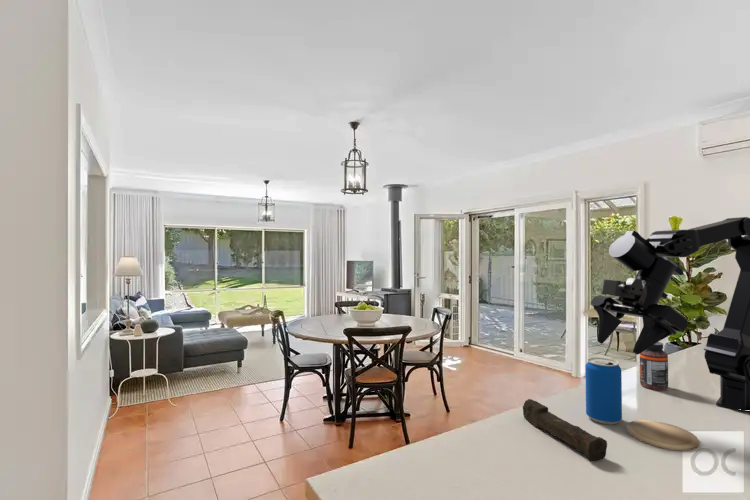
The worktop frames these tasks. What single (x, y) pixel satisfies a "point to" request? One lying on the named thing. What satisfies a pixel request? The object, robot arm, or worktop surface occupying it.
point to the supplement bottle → (654, 367)
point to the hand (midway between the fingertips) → (616, 347)
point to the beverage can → (603, 390)
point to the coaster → (662, 435)
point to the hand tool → (565, 430)
